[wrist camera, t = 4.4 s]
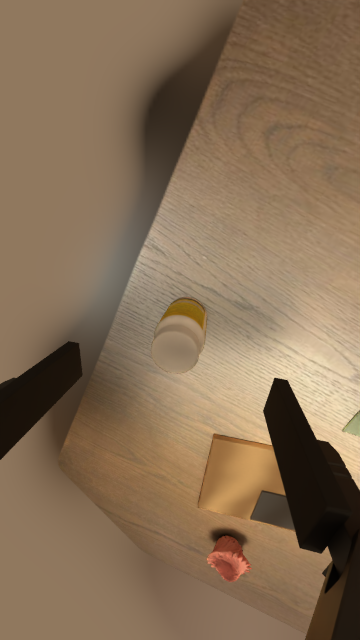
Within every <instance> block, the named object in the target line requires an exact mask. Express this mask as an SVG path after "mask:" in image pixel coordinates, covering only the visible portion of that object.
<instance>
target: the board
mask: <svg viewBox="0 0 360 640" xmlns="http://www.w3.org/2000/svg"><path fill="white" fill-rule="evenodd" d="M344 464H345V463H344ZM345 466H346V465H345ZM198 508H202V509H206V510H210V511H214V512H218V513H222V514H226V515H230V516H234V517H238V518H242V519H246V520H250V521H254V522H259V523H263V524H267V525H271V526H275V527H279V528H283V529H287V530H291V531H295V528H294V524H293V521H292V517H291V513H290V509H289V506H288V502H287V498H286V494H285V491H284V487H283V483H282V479H281V476H280V472H279V468H278V464H277V461H276V457H275V453H274V449H273V446H270V445H265V444H260V443H255V442H250V441H245V440H241V439H236V438H231V437H226V436H221V435H216V434H214V435H213V440H212V444H211V449H210V453H209V457H208V462H207V466H206V471H205V475H204V479H203V484H202V488H201V493H200V497H199V501H198Z"/></svg>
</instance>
